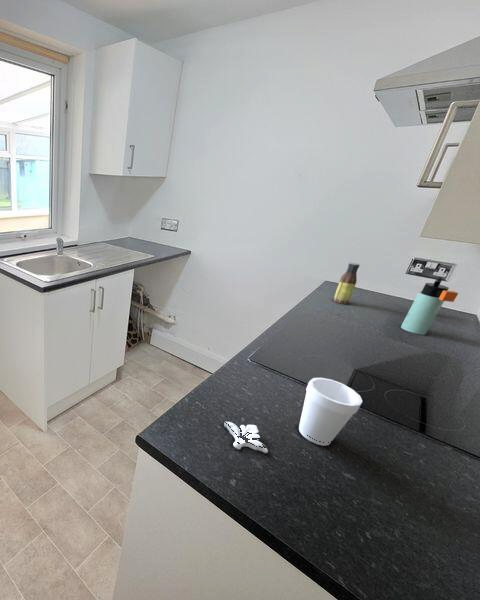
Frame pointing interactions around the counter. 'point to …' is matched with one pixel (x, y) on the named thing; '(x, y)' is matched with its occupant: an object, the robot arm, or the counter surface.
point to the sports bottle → (424, 308)
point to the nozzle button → (448, 296)
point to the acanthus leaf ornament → (246, 429)
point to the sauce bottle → (346, 284)
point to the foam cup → (327, 409)
